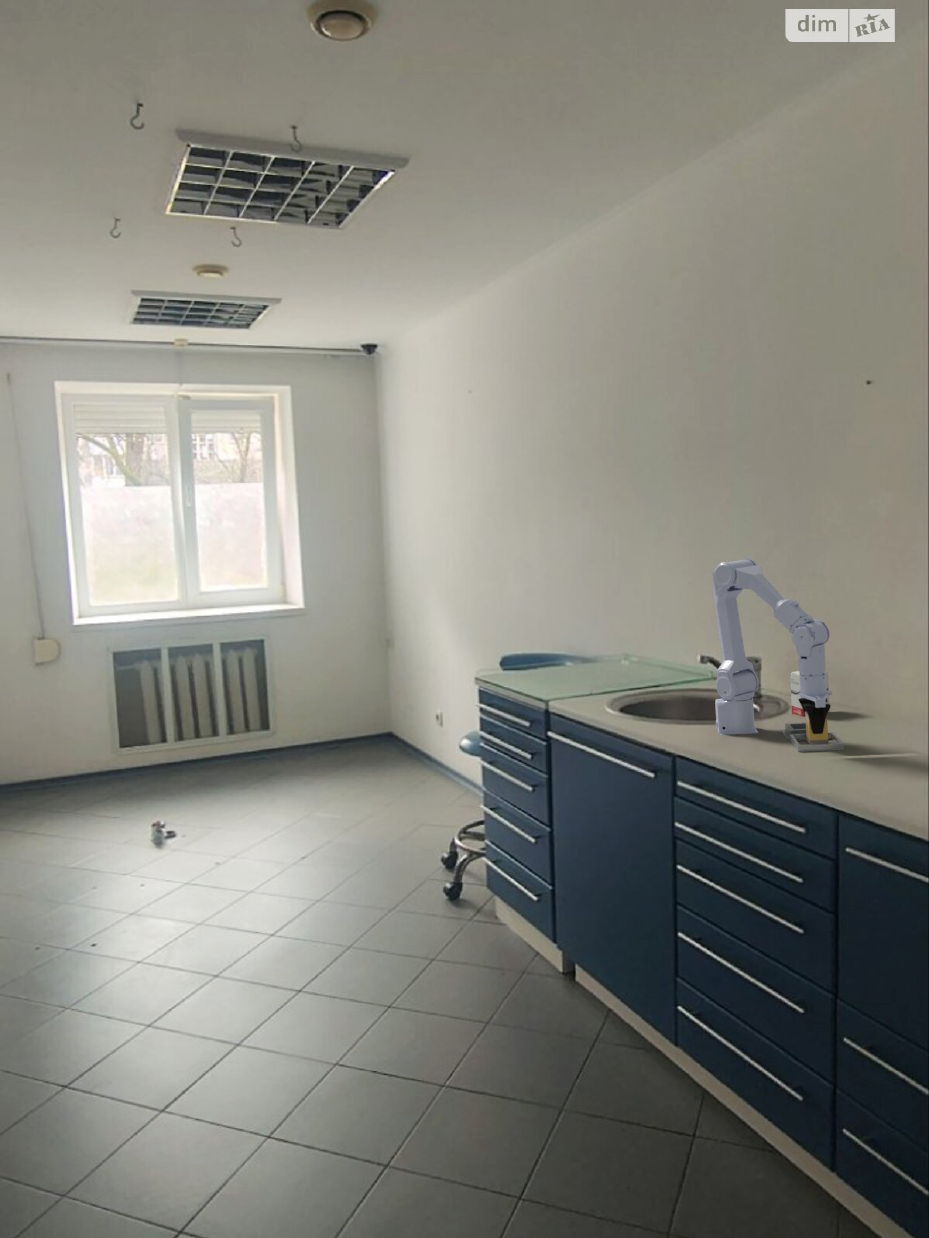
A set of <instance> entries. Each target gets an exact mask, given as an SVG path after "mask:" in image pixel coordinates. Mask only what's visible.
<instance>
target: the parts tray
mask: <svg viewBox="0 0 929 1238" xmlns="http://www.w3.org/2000/svg"><path fill="white" fill-rule="evenodd" d="M828 740H832V741H833V742H834V743H833V742H832V743H831V742H830V743H828V744H809V743H808V744H800V743H799V742H800V741H807V738H806V734H790V739H789V741H790V743H791V744H792V745H793V747H794V748H795V750H796V751H797V752H798V753H803V752H827V751H845V743H844V742H843V741H842V740H841V739H840V738H839V737H838V736H837V734H836V733H835V732H828ZM798 741H799V742H798Z"/></svg>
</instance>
